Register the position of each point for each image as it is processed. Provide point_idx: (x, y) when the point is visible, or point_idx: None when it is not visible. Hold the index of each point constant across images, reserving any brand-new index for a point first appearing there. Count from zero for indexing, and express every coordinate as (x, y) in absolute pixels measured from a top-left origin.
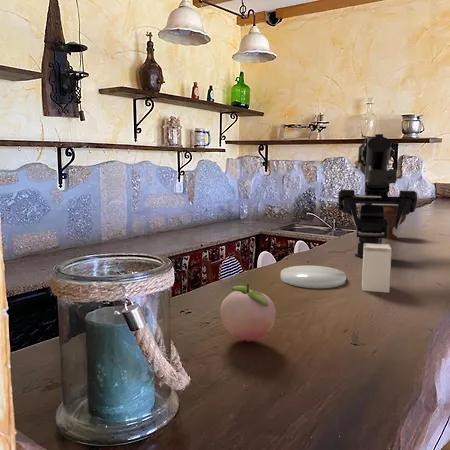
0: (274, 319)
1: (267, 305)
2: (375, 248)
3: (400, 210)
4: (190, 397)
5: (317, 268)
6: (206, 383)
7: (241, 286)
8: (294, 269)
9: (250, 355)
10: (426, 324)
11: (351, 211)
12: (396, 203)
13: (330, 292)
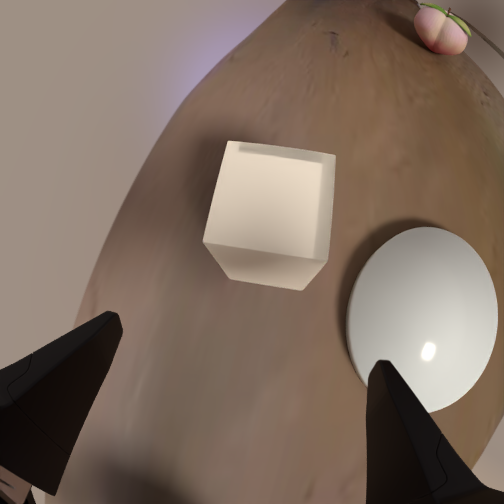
0: (414, 20)
1: (420, 4)
2: (290, 148)
3: (12, 375)
4: None
5: (422, 381)
6: None
7: (459, 20)
8: (474, 350)
9: (417, 34)
10: (229, 69)
11: (450, 455)
12: (7, 498)
13: (387, 202)
